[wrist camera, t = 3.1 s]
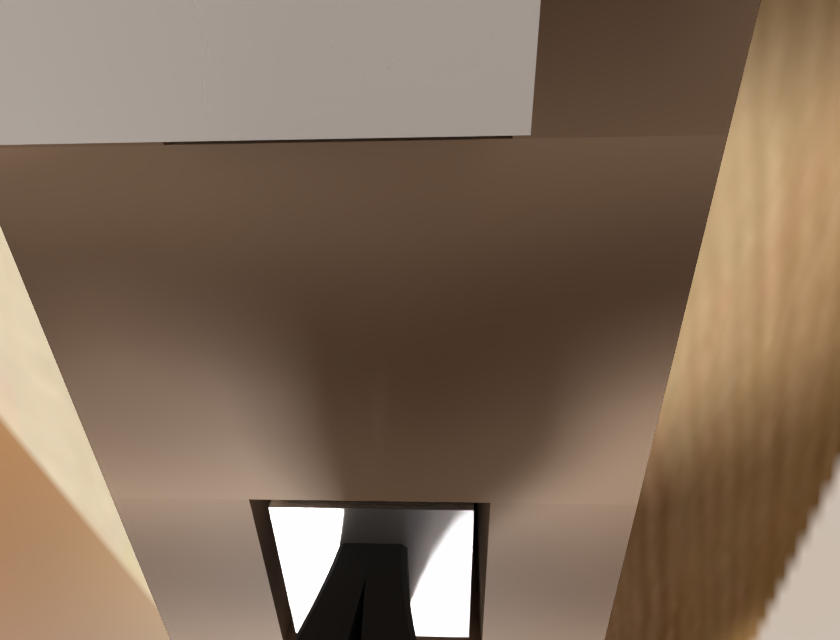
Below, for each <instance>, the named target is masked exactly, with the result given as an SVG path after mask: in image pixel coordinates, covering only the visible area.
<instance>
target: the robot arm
mask: <svg viewBox="0 0 840 640" xmlns="http://www.w3.org/2000/svg"><path fill="white" fill-rule="evenodd" d="M294 640H417V639H416V634H415V629H414V624H413V618H412V611H411V604H410V588H409V567H408V548H407V547H406V546H404V545H403V544H374V543H343V544H342V545H341V546H339V548H338V551H337V553H336V556H335V558H334V560H333V563H332V565H331V567H330V569H329V572H328V574H327V576H326V578H325V580H324V582H323V585H322V587H321V589H320V591H319V593H318V595H317V597H316V599H315V601H314V603H313V605H312V607H311V609H310V611H309V613H308V614H307V616H306V618H305V620H304V622H303V624H302V625H301V627H300V629H299V631H298V633H297V635H296V637H295V638H294Z"/></svg>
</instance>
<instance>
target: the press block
mask: <svg viewBox="0 0 840 640" xmlns="http://www.w3.org/2000/svg"><path fill="white" fill-rule="evenodd" d="M760 2H761V0H541V4H540V17H539V30H538V43H537V57H536V70H535V83H534V96H533V109H532V123H531V135H516V136H461V137H406V138H352V139H297V140H242V141H187V142H132V143H78V144H23V145H0V226H1V228H2V231H3V233H4V236H5V238H6V241H7V243H8V246H9V248H10V250H11V253H12V255H13V258H14V260H15V263H16V265H17V267H18V270H19V272H20V275H21V277H22V280H23V282H24V285H25V287H26V289H27V292H28V294H29V297H30V299H31V302H32V304H33V306H34V309H35V311H36V314H37V316H38V319H39V321H40V324H41V326H42V328H43V331H44V333H45V336H46V338H47V341H48V343H49V345H50V348H51V350H52V353H53V355H54V358H55V360H56V363H57V365H58V367H59V370H60V372H61V375H62V377H63V380H64V382H65V384H66V387H67V389H68V392H69V394H70V397H71V399H72V402H73V404H74V406H75V409H76V411H77V414H78V416H79V419H80V421H81V423H82V426H83V428H84V431H85V433H86V436H87V438H88V440H89V443H90V445H91V448H92V450H93V453H94V455H95V458H96V460H97V462H98V465H99V467H100V470H101V472H102V475H103V477H104V479H105V482H106V484H107V487H108V489H109V492H110V494H111V497H112V499H113V501H114V504H115V506H116V509H117V511H118V514H119V516H120V518H121V521H122V523H123V526H124V528H125V531H126V533H127V536H128V538H129V540H130V543H131V545H132V548H133V550H134V553H135V555H136V557H137V560H138V562H139V565H140V567H141V570H142V572H143V575H144V577H145V579H146V582H147V584H148V587H149V589H150V592H151V594H152V596H153V599H154V601H155V604H156V606H157V609H158V611H159V614H160V616H161V618H162V620H163V623H164V626H165V628H166V631H167V633H168V635H169V638H170V640H294V638H295V637H296V635H297V633H296V631H295V626H294V622H293V617H292V613H291V608H290V604H289V599H288V594H287V590H286V585H285V581H284V576H283V572H282V567H281V562H280V558H279V553H278V549H277V544H276V540H275V535H274V530H273V526H272V521H271V517H270V512H269V505H270V503H271V500H330V501H401V502H472V503H473V505H474V521H473V546H472V571H471V596H470V621H469V637H434V636H416V639H417V640H604V639H605V635H606V631H607V627H608V623H609V619H610V615H611V611H612V607H613V603H614V598H615V594H616V590H617V586H618V582H619V578H620V574H621V570H622V566H623V562H624V558H625V554H626V549H627V545H628V541H629V537H630V533H631V529H632V525H633V521H634V517H635V513H636V509H637V504H638V500H639V496H640V492H641V488H642V484H643V480H644V476H645V472H646V468H647V464H648V459H649V455H650V451H651V447H652V443H653V439H654V435H655V431H656V427H657V423H658V419H659V415H660V410H661V406H662V402H663V398H664V394H665V390H666V386H667V382H668V378H669V374H670V370H671V365H672V361H673V357H674V353H675V349H676V345H677V341H678V337H679V333H680V329H681V325H682V321H683V316H684V312H685V308H686V304H687V300H688V296H689V292H690V288H691V284H692V280H693V276H694V271H695V267H696V263H697V259H698V255H699V251H700V247H701V243H702V239H703V235H704V231H705V227H706V222H707V218H708V214H709V210H710V206H711V202H712V198H713V194H714V190H715V186H716V182H717V177H718V173H719V169H720V165H721V161H722V157H723V153H724V149H725V145H726V141H727V137H728V133H729V128H730V124H731V120H732V116H733V112H734V108H735V104H736V100H737V96H738V92H739V88H740V83H741V79H742V75H743V71H744V67H745V63H746V59H747V55H748V51H749V47H750V43H751V38H752V34H753V30H754V26H755V22H756V18H757V14H758V10H759V6H760Z"/></svg>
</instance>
